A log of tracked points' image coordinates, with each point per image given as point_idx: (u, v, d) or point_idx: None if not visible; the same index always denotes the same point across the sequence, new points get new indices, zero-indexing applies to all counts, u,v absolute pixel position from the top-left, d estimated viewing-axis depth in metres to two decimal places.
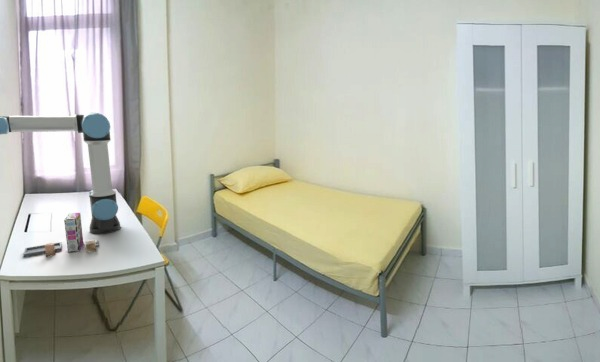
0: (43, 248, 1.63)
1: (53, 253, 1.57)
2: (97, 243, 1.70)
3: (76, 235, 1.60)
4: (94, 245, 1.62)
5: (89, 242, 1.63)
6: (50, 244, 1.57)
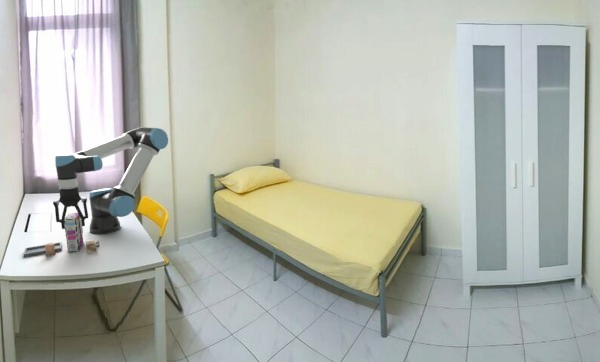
0: (43, 248, 1.63)
1: (53, 253, 1.57)
2: (97, 243, 1.70)
3: (76, 235, 1.60)
4: (94, 245, 1.62)
5: (89, 242, 1.63)
6: (50, 244, 1.57)
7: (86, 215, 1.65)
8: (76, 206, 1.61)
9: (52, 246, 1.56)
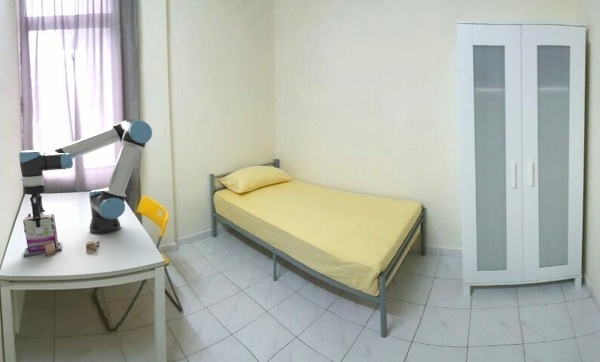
0: None
1: (52, 253, 1.57)
2: (97, 243, 1.70)
3: None
4: (94, 245, 1.62)
5: (89, 242, 1.63)
6: (50, 244, 1.57)
7: (42, 207, 1.65)
8: (41, 201, 1.60)
9: (51, 246, 1.56)
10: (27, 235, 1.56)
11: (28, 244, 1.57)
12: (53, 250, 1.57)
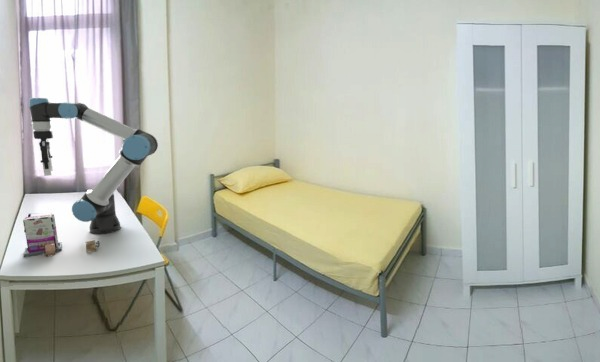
0: None
1: (52, 254, 1.57)
2: (97, 243, 1.70)
3: None
4: (94, 245, 1.62)
5: (89, 242, 1.63)
6: (50, 244, 1.57)
7: None
8: (49, 147, 1.71)
9: (51, 247, 1.56)
10: (27, 235, 1.56)
11: (28, 244, 1.57)
12: (53, 250, 1.57)
